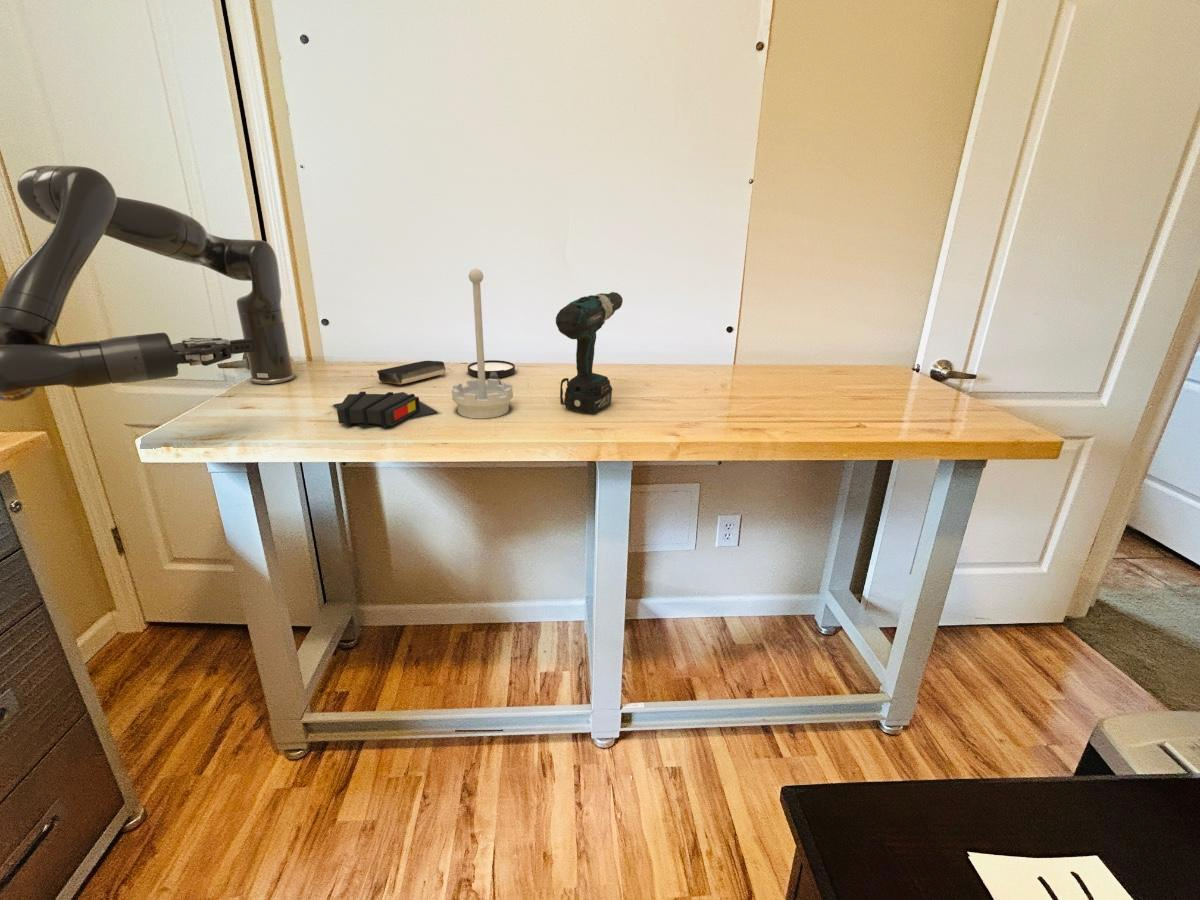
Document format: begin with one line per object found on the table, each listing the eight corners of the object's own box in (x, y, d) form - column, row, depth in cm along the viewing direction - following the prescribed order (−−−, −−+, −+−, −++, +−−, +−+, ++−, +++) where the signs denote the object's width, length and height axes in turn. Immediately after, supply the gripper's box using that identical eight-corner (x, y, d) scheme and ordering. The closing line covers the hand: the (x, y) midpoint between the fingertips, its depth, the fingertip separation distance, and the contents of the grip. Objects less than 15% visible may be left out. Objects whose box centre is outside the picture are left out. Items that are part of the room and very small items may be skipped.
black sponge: (396, 389, 146) (395, 374, 145) (375, 382, 151) (374, 368, 149) (449, 376, 158) (448, 362, 157) (428, 370, 163) (427, 357, 162)
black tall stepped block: (361, 404, 134) (421, 411, 130) (320, 423, 122) (385, 431, 119) (358, 387, 133) (419, 394, 129) (317, 405, 121) (382, 413, 117)
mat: (333, 406, 134) (333, 404, 133) (403, 393, 143) (402, 391, 143) (363, 428, 121) (363, 426, 121) (437, 413, 131) (437, 411, 130)
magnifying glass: (471, 392, 145) (470, 384, 144) (466, 367, 166) (466, 360, 165) (523, 390, 148) (523, 381, 147) (512, 365, 169) (512, 358, 168)
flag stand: (514, 418, 128) (508, 272, 117) (451, 420, 126) (439, 272, 115) (512, 400, 140) (508, 265, 129) (455, 401, 138) (445, 265, 127)
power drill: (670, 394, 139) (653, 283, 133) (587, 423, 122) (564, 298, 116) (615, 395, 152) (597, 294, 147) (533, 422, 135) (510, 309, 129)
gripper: (137, 343, 95) (259, 330, 105) (128, 329, 104) (241, 318, 114) (149, 389, 97) (267, 372, 108) (140, 371, 107) (249, 357, 117)
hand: (254, 344), depth 111 cm, fingers closed
